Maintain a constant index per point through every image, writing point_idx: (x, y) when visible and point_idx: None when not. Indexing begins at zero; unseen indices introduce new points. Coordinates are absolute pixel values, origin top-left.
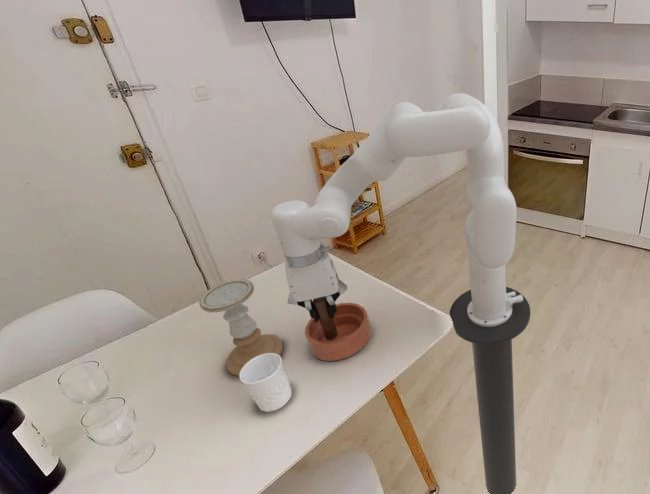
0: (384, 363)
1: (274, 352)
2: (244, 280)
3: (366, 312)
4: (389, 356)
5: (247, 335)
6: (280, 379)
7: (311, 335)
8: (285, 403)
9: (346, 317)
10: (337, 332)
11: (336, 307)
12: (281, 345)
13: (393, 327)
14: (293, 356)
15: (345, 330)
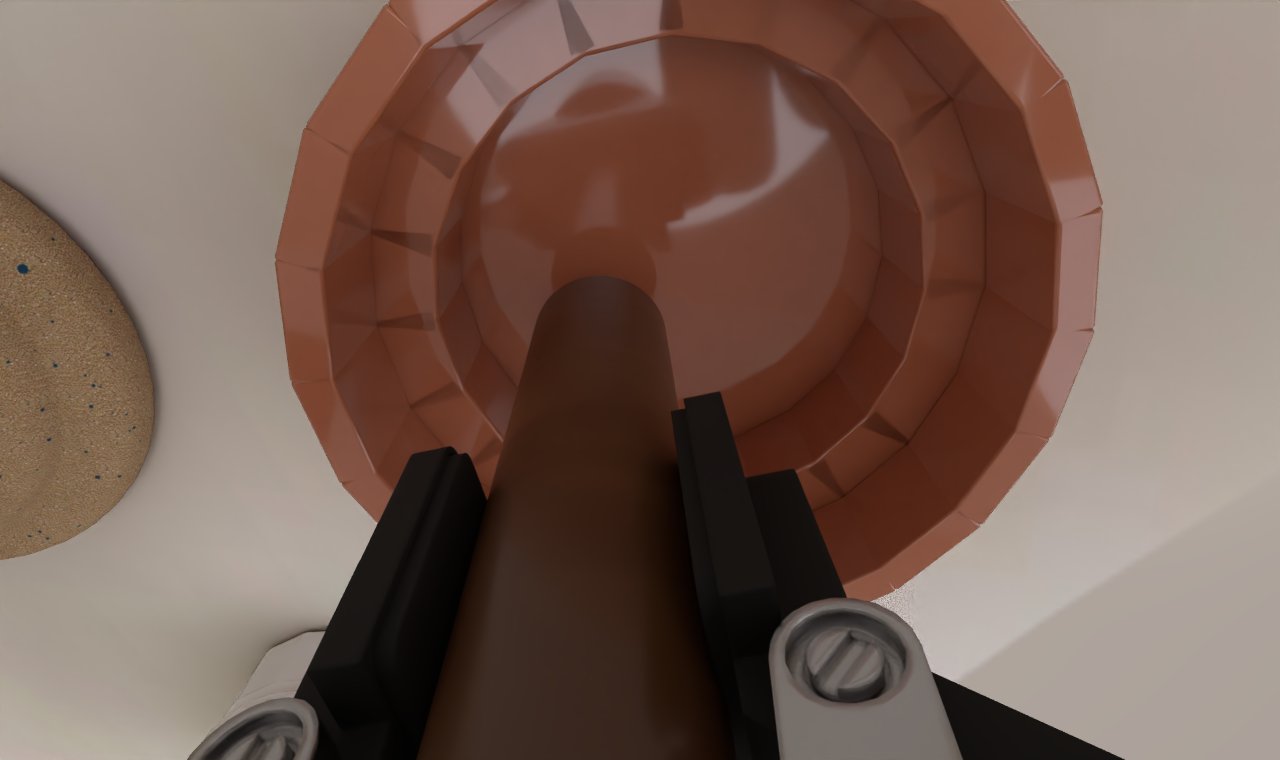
0: (1033, 545)
1: (82, 412)
2: None
3: (1099, 216)
4: (1078, 493)
5: None
6: None
7: (384, 351)
8: None
9: (716, 40)
10: (664, 324)
11: (797, 475)
12: (87, 318)
13: (1181, 164)
14: (278, 394)
15: (692, 161)
